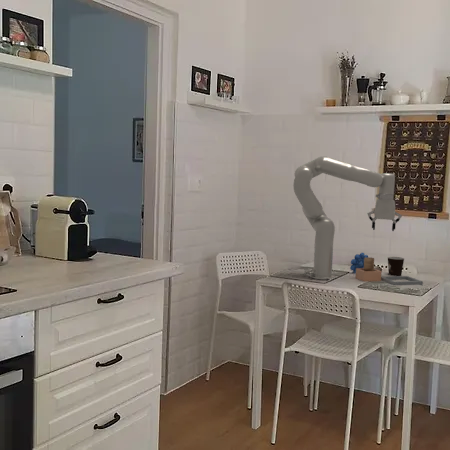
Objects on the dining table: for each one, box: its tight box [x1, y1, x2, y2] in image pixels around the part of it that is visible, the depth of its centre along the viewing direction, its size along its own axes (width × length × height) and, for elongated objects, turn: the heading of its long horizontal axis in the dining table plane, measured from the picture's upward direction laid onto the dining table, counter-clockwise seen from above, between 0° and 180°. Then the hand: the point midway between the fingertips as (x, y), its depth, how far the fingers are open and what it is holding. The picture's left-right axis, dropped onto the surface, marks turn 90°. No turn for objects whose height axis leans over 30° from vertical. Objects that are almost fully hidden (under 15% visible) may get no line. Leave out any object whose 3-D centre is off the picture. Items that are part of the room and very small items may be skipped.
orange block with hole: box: [355, 268, 382, 283], centre depth 319 cm, size 9×9×6 cm
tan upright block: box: [364, 256, 375, 271], centre depth 318 cm, size 5×5×11 cm
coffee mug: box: [387, 256, 405, 276], centre depth 335 cm, size 12×9×10 cm
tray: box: [381, 275, 424, 286], centre depth 315 cm, size 16×14×2 cm
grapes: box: [349, 252, 369, 274], centre depth 337 cm, size 12×7×12 cm, turn 111°
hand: (383, 230), depth 323 cm, fingers open, 9 cm apart
